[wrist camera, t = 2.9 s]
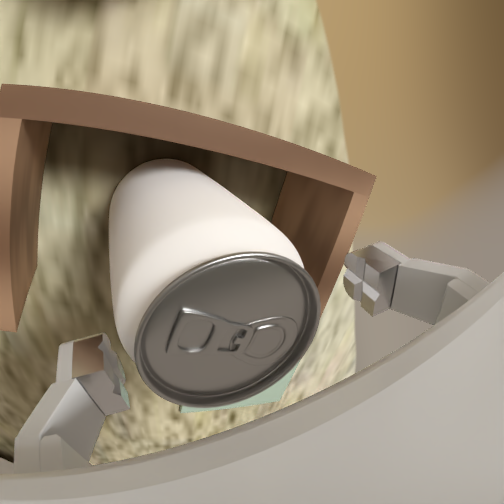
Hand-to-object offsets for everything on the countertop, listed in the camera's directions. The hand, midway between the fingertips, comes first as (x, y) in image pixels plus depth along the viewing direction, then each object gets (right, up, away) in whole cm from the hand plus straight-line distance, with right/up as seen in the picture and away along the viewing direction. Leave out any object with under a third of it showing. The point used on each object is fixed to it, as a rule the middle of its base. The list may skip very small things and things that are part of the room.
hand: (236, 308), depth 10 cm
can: (-5, +4, +9) cm, 11 cm away
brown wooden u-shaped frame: (-5, +5, +8) cm, 11 cm away
